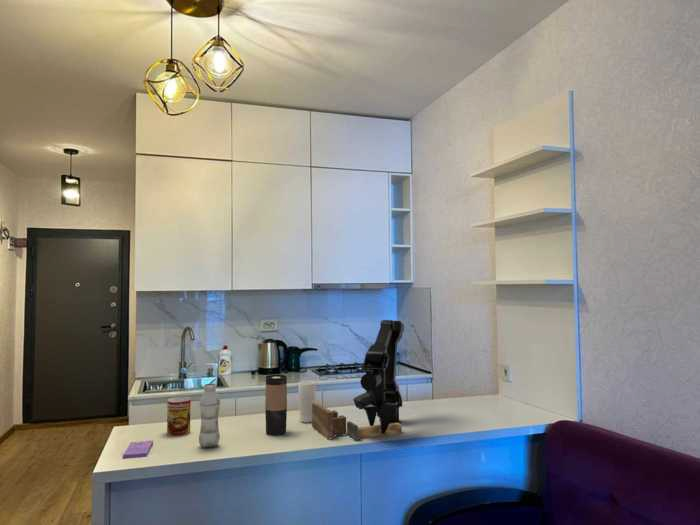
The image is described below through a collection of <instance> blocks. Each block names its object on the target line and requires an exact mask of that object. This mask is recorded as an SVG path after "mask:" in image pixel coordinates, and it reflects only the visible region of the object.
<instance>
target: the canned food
mask: <svg viewBox="0 0 700 525" xmlns="http://www.w3.org/2000/svg"><path fill="white" fill-rule="evenodd" d="M191 401H192V399H191V397H189V396H176V397H172V398H168V399H167V407H166V408H167V411H166V412H167V413H166V414H167V418H166V419H167V420H166V428H167V429H166V435H167V436H168V437H183V436H186V435H189V434H190V433H191Z"/></svg>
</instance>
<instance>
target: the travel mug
mask: <svg viewBox="0 0 700 525" xmlns="http://www.w3.org/2000/svg"><path fill="white" fill-rule="evenodd" d="M287 380H288V378H287V375H286V374H268V375H266V376H265V406H264V408H265V410H264V411H265V434H266V435H268V436H275V437H277V435H278V436H281V435H282V436H283V435H285V434H286V433H287V416H288V415H287V412H288V399H287V398H288V384H287Z"/></svg>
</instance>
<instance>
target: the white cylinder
mask: <svg viewBox="0 0 700 525" xmlns="http://www.w3.org/2000/svg"><path fill="white" fill-rule="evenodd" d="M316 383H317V382H316V381H314V380H302V381H299V382H298V390H297V391H298V392H297V393H298V404H299V405H298V406H299V421H300V422H301V423H303V422H304V424H309V423H308V422H310V423H312V403H316V392H317V390H316V389H317V387H316V386H317V385H316Z"/></svg>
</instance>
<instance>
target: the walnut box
mask: <svg viewBox="0 0 700 525" xmlns="http://www.w3.org/2000/svg"><path fill="white" fill-rule="evenodd" d="M311 424H312V425H311V426H312V427H313V428H314V429H313V428H312V427H311V428H312V429H313V430H314V431H316V430H317V431H318V432H317V431H316V432H317V433H319V434H320V433H321V434H322V435H323V437H324V436H325V437H326V438H327V439H326V438H325V437H324V438H325V439H326V440H331V439H330V438H333V439H334V437H336V436H335V435H340V436H343V435H342V434H346V435H347V417H346V416H345V415H344V414H343V415H339V412H338V411H337V410H334V409H333V410H331V409H330V408H329V409H328V408H327V407H325V406H324V405H322V404H320V403H319V402H315V403H312V422H311ZM321 434H320V435H321ZM322 435H321V436H322Z"/></svg>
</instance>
